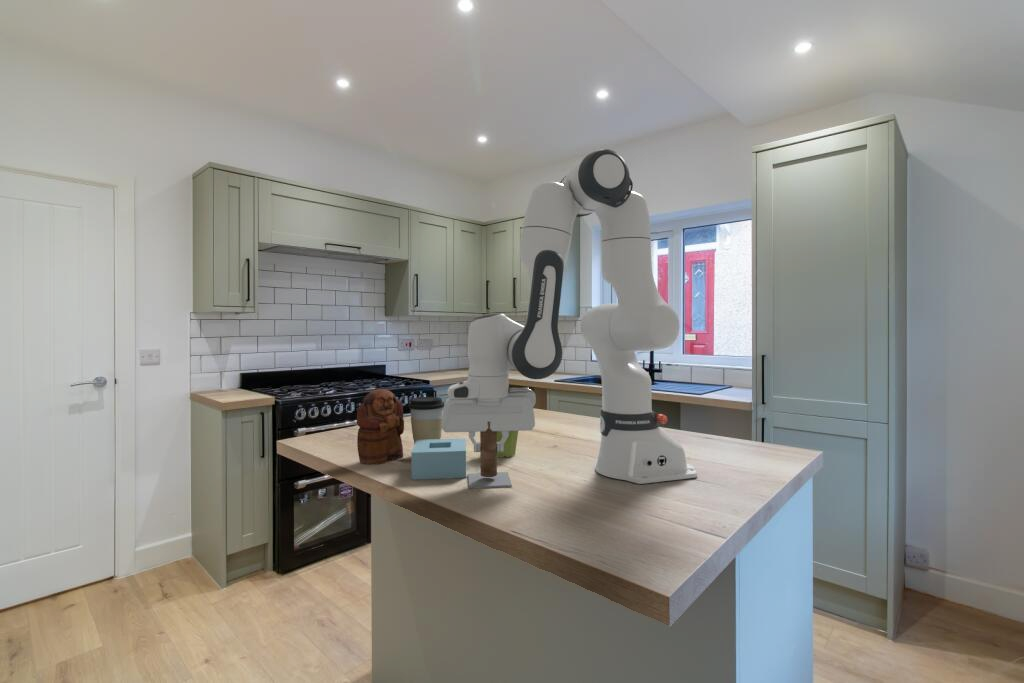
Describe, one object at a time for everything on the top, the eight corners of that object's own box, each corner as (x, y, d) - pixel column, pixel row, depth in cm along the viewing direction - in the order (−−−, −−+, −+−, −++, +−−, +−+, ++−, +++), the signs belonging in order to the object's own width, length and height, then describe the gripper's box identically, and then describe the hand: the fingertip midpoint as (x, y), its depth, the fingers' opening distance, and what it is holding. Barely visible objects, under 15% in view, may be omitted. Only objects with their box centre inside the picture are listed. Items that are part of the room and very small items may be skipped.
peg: (496, 471, 108) (496, 418, 107) (497, 476, 104) (497, 421, 104) (480, 472, 107) (479, 418, 107) (480, 477, 104) (480, 421, 103)
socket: (465, 462, 120) (465, 438, 120) (466, 477, 108) (465, 450, 108) (416, 464, 119) (416, 439, 119) (411, 479, 107) (411, 452, 107)
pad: (507, 473, 111) (507, 472, 111) (511, 486, 102) (511, 484, 102) (468, 475, 110) (468, 473, 110) (468, 488, 101) (468, 486, 101)
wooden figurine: (370, 467, 116) (369, 393, 116) (355, 463, 120) (353, 390, 120) (409, 456, 126) (408, 387, 125) (393, 452, 130) (392, 386, 129)
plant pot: (500, 448, 134) (500, 417, 133) (528, 453, 128) (528, 421, 128) (478, 456, 126) (478, 422, 126) (507, 461, 121) (507, 427, 120)
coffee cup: (442, 461, 121) (441, 401, 121) (404, 461, 121) (403, 401, 121) (447, 451, 131) (447, 396, 130) (412, 451, 131) (412, 396, 130)
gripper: (533, 385, 109) (533, 446, 110) (442, 386, 107) (442, 448, 108) (537, 389, 103) (537, 453, 103) (440, 390, 101) (441, 456, 101)
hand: (488, 451), depth 106 cm, fingers closed on peg, 4 cm apart
